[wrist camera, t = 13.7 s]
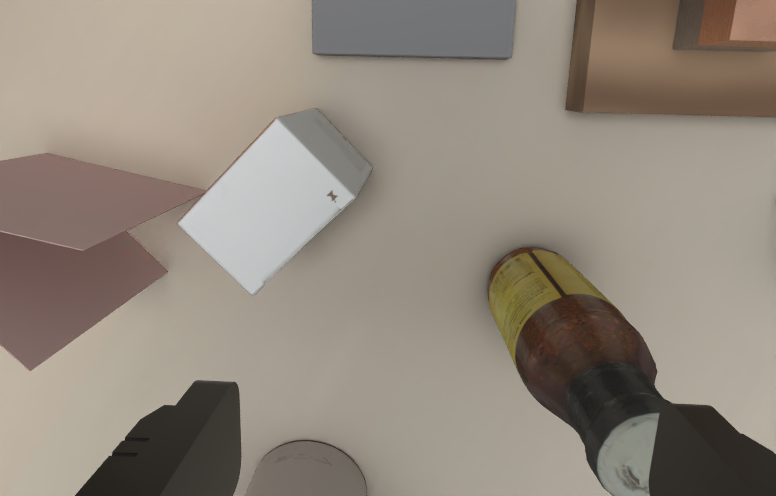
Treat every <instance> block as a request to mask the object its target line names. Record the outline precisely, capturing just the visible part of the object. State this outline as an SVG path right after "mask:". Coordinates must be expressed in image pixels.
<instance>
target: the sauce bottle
mask: <svg viewBox="0 0 776 496" xmlns="http://www.w3.org/2000/svg"><path fill="white" fill-rule="evenodd" d="M488 300H489V304H490V308H491V312H492V314H493V316H494V319H495V321H496V323H497V325H498V328H499V330H500V332H501V334H502V336H503V339H504V341H505V343H506V345H507V348H508V350H509V352H510V355H511V357H512V359H513V362H514V364H515V366H516V368H517V370H518V373H519V375H520V377H521V379H522V381H523V383H524V384H525V386H526V387H527V389H528V390H529V392H530V393H531V394H532V396H533V397H534V398H535V399H536V400H537V401H538V402H539V403H540V404H541V405H543V406H544V407H545V408H547V409H548V410H549V411H551V412H552V413H553V414H555V415H556V416H558V417H559V418H560V419H562V420H563V421H564V422H566V423H567V424H569V425H570V426H571V427H573V428H574V429H575V430H576V432H577V433H578V434H579V435H580V438H581V440H582V442H583V443H584V445H585V452H586V457H587V461H588V464H589V466H590V467H591V469H592V471H593V473H594V474H595V475H596V477H597V478H598V480H599V482H600V483H601V485H602V487H603V488H604V489H605V490H606V491H608V492H609V493H610V494H611V495H613V496H650V494H649V472H650V466H651V460H652V454H653V448H654V442H655V436H656V430H657V424H658V418H659V414H660V411H661V409H662V407H663V406H664V405H665V404H667V403H671V402H669V401H668V400H665V399H664V398H663V397H662V396H661V395H660V393H659V392H658V391H657V390H656V388H655V385H654V383H655V378H656V374H657V369H656V364H655V362H654V360H653V358H652V355H651V353H650V351H649V349H648V347H647V345H646V343H645V341H644V339H643V337H642V336H641V335H640V333H639V332H638V331H637V330H636V329H635V328H634V327H633V326H632V325H631V324H630V323H629V322H628V321H627V320H626V319H625V317H624V316H623V315H622V313H621V312H620V311H619V310H618V309H617V308H616V307H615V306H614V305H613V304H612V303H611V302H610V301H609V300H608V299H607V298H606V297H605V296H604V295H603V294H602V293H601V292H600V291H599V290H598V289H597V288H595V287H594V286H593V285H592V284H591V283H590V282H589V281H588V280H587V279H586V278H585V277H584V276H583V275H582V274H581V273H580V272H579V271H578V270H577V269H576V268H575V267H573V266H572V265H571V264H570V263H569V262H568V261H567V260H565V259H564V258H563V257H561V256H559V255H558V254H557V253H555V252H551V251H548V250H545V249H537V248H521V249H519V250H516V251H514V252H511V253H510V254H509V255H507V256H506V257H505V258H504V259H502V260H501V261H500V262H499V263H498V264H497V266H496V267H495V268H494V269H493V271H492V273H491V276H490V281H489V285H488ZM672 404H673V403H672Z"/></svg>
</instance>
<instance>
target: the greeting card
mask: <svg viewBox="0 0 776 496" xmlns="http://www.w3.org/2000/svg"><path fill="white" fill-rule="evenodd" d="M205 192H206V191H205V190H201V189H196V188H192V187H188V186H184V185H179V184H175V183H171V182H167V181H162V180H158V179H154V178H150V177H145V176H141V175H137V174H133V173H128V172H124V171H120V170H116V169H111V168H107V167H103V166H99V165H94V164H90V163H86V162H82V161H77V160H73V159H69V158H64V157H60V156H56V155H52V154H47V153H45V154H39V155H33V156H27V157H21V158H15V159H9V160H3V161H0V346H2V347H3V348H4V349H5V350H6V351H7V352H8V353H9V354H11V355H12V356H13V357H14V358H15V359H16V360H17V361H19V362H20V363H21V364H22V365H23V366H24V367H25V368H26V369H28V370H29V371H31V370H33V369H34V368H35V367H37V366H38V365H40V364H41V363H42V362H44V361H45V360H46V359H48V358H49V357H51V356H52V355H53V354H55V353H56V352H58V351H59V350H60V349H62V348H63V347H65V346H66V345H67V344H69V343H70V342H71V341H73V340H74V339H76V338H77V337H78V336H80V335H81V334H83V333H84V332H85V331H87V330H88V329H89V328H91V327H92V326H94V325H95V324H96V323H98V322H99V321H101V320H102V319H103V318H105V317H106V316H108V315H109V314H110V313H112V312H113V311H114V310H116V309H117V308H119V307H120V306H121V305H123V304H124V303H126V302H127V301H128V300H130V299H131V298H132V297H134V296H135V295H137V294H138V293H139V292H141V291H142V290H144V289H145V288H146V287H148V286H149V285H151V284H152V283H153V282H155V281H156V280H157V279H159V278H160V277H162V276H163V275H164V274H166V273H167V272H168V271H167V270H166V269H165V268H164V267H163V266H162V265H161V264H160V263H159V262H158V261H156V260H155V259H154V258H153V257H152V256H151V255H150V254H149V253H148V252H147V251H146V250H145V249H144V248H143V247H142V246H141V245H140V244H139V243H138V242H137V241H136V240H135V239H134V238H133V237H132V236H131V235H130V234H129V233H128V232H127V231H126V230H128V229H130V228H132V227H135V226H137V225H139V224H141V223H143V222H145V221H147V220H149V219H151V218H153V217H156V216H158V215H160V214H162V213H164V212H166V211H168V210H170V209H172V208H174V207H176V206H179V205H181V204H183V203H185V202H187V201H189V200H191V199H193V198H195V197H197V196H200V195H202V194H204V193H205Z"/></svg>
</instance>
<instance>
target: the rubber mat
mask: <svg viewBox="0 0 776 496" xmlns="http://www.w3.org/2000/svg"><path fill="white" fill-rule="evenodd" d="M515 9H516V0H312V50H313V54H316V55H331V56H376V57H422V58H467V59H509V58H512V47H513V34H514V21H515Z"/></svg>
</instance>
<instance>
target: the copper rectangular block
mask: <svg viewBox="0 0 776 496" xmlns="http://www.w3.org/2000/svg"><path fill="white" fill-rule="evenodd" d="M672 49H673V50H707V51H741V52H771V51H776V0H680V3H679V9H678V15H677V22H676V28H675V34H674V41H673V47H672Z"/></svg>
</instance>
